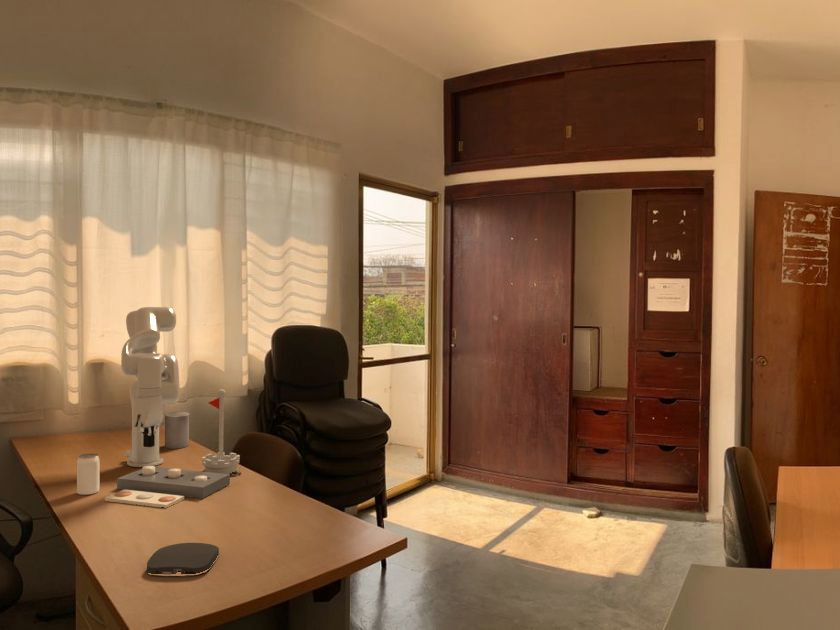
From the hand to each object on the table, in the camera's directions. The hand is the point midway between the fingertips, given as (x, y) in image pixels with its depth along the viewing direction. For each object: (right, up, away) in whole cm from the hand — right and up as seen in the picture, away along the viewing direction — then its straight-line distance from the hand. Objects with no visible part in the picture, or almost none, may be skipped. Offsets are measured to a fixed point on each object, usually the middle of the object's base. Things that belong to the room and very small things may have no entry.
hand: (148, 446), depth 221 cm
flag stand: (+19, -13, +18) cm, 29 cm away
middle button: (+9, -11, -2) cm, 14 cm away
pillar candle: (-11, -11, +55) cm, 57 cm away
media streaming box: (+35, -16, -63) cm, 74 cm away
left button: (0, -10, 0) cm, 10 cm away
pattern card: (+6, -14, -17) cm, 22 cm away
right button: (+19, -13, -5) cm, 23 cm away
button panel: (+9, -13, -2) cm, 16 cm away
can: (-15, -13, -10) cm, 23 cm away
